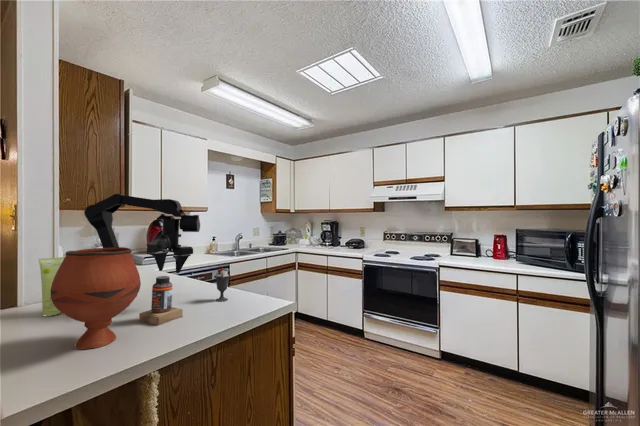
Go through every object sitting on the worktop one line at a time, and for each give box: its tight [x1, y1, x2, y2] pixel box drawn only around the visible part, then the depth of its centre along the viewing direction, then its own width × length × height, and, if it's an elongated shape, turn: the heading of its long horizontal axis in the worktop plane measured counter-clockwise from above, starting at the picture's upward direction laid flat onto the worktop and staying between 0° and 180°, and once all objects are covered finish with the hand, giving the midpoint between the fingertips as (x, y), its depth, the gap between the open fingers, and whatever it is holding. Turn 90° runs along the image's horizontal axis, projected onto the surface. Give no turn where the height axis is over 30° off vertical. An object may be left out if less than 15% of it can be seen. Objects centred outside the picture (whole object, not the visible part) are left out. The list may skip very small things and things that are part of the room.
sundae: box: [213, 264, 232, 303], centre depth 117 cm, size 7×7×15 cm
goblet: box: [51, 246, 142, 350], centre depth 76 cm, size 19×19×25 cm
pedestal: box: [138, 306, 184, 326], centre depth 94 cm, size 9×9×3 cm
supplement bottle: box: [150, 275, 173, 313], centre depth 94 cm, size 6×6×11 cm
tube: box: [38, 256, 65, 317], centre depth 96 cm, size 6×5×20 cm
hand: (169, 271), depth 108 cm, fingers open, 9 cm apart
